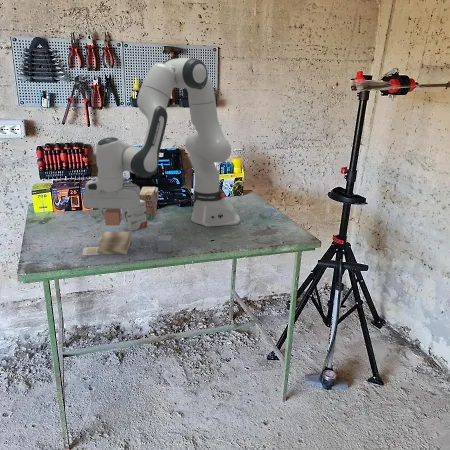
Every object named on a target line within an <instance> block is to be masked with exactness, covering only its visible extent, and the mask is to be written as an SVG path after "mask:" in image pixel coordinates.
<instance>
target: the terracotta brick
mask: <svg viewBox="0 0 450 450" xmlns="http://www.w3.org/2000/svg"><path fill="white" fill-rule="evenodd" d="M121 211H122V209H112V208H105V212H104V214H105V219H104V223H105V226H120V225H121V222H122V220H121V219H120V217H119V215H120V214H122V212H121Z"/></svg>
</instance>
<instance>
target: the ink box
mask: <svg viewBox="0 0 450 450" xmlns="http://www.w3.org/2000/svg"><path fill="white" fill-rule="evenodd" d="M123 223H124V229H125V230H127V231H128V232H132V231H137V230H139V229H140V230H141V229H143V228H147V227H148V221H147V216H146V202H145V201H143V200H140V206H139V207H138V208H137V209H127V210H126V212H125V214H124V220H123Z"/></svg>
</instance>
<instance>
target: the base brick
mask: <svg viewBox="0 0 450 450" xmlns="http://www.w3.org/2000/svg"><path fill="white" fill-rule="evenodd" d="M131 232H132V231H104V233H103V234H102V237H101V239H100V240H99V242H98V247H99V254H100V255H127V254H128V251H129V248H130V246H131V245H130V244H131V242H132V237H131V236H132V235H131Z"/></svg>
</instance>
